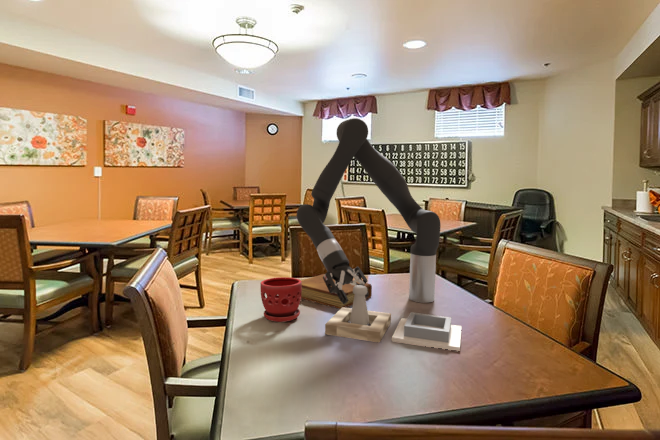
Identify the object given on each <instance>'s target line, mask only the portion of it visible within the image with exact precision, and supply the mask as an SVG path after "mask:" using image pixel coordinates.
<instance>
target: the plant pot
mask: <svg viewBox="0 0 660 440" xmlns="http://www.w3.org/2000/svg"><path fill="white" fill-rule="evenodd" d="M301 295H302V282H301V280H300V279H299V278H296V277H290V276H289V277H280V276H279V277H270V278H266V279H264V280H262V281H261V282H260V296H261V297H260V298H261V302H262V306H263V307H264V311H263V316H264V318H266V319H267V320H269V321H272V322H277V323H282V322H283V323H285V322H292V321H293V320H295V319H297V318H298V317H299V316H300V314H301V309H299V307H300V304H301V301H302V298H301Z"/></svg>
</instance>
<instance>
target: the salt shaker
mask: <svg viewBox="0 0 660 440" xmlns="http://www.w3.org/2000/svg"><path fill="white" fill-rule="evenodd" d="M353 294H355V296H354V301H353V305H351V306H352V307H351V308H352V311H351V316H350V321H349V323H353V324H360V325H367V326H369V325H370V324H369V317H368V311H369V310H368V306H367V305H368V304H367V301H366V300H367V299H365V295H366V294H367V287H366V286H363V285H357V286H354V287H353ZM367 310H368V311H367Z"/></svg>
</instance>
